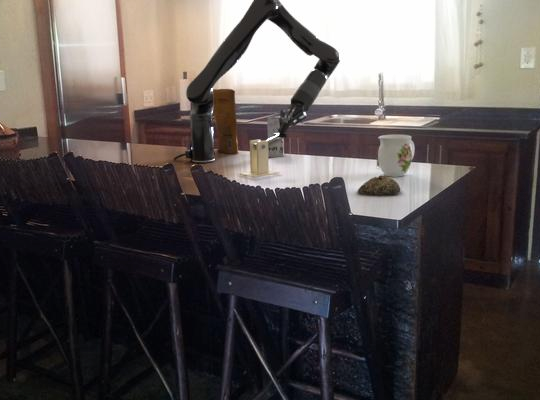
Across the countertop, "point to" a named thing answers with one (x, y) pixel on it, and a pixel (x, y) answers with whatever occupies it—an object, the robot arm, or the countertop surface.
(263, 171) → the bracket
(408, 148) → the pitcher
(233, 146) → the pancake mix bag
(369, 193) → the mossy brown rock
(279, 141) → the coffee box
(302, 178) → the countertop surface
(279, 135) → the lever
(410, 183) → the countertop surface
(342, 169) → the countertop surface
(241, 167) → the countertop surface
